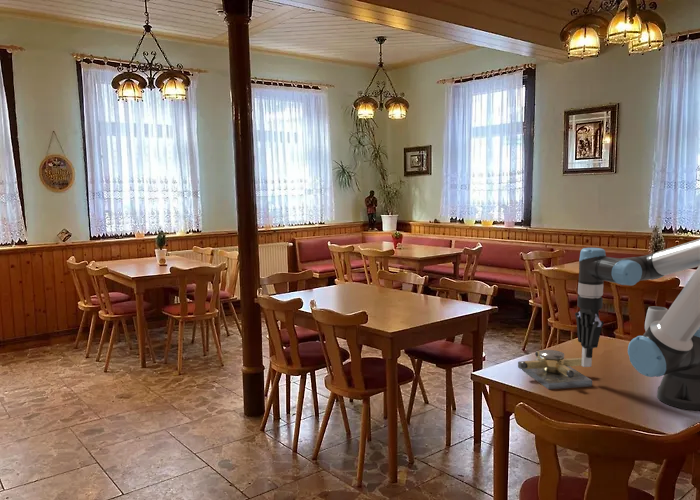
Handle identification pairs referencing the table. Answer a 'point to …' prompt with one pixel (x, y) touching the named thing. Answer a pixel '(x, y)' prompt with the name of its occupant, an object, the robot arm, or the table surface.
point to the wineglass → (654, 315)
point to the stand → (557, 378)
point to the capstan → (552, 362)
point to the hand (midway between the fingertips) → (586, 366)
